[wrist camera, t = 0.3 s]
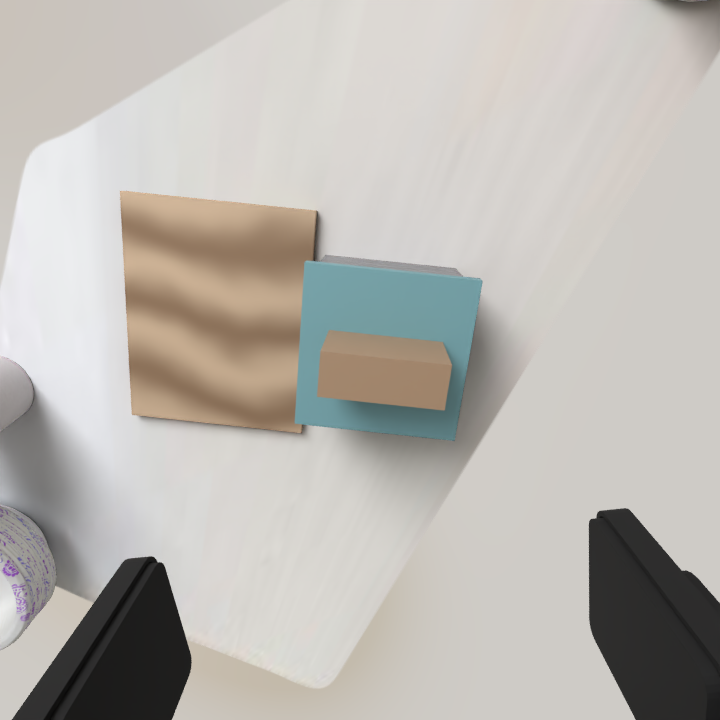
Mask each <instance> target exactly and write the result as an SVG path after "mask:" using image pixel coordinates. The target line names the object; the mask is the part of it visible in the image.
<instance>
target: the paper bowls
mask: <svg viewBox="0 0 720 720" xmlns="http://www.w3.org/2000/svg"><path fill="white" fill-rule="evenodd" d="M56 575H57V574H56V566H55V562H54V558H53V556H52V553H51V551H50V549H49V547H48V544H47V541H46V539H45V536H44V535H43V533H42V531H41V530H40V528H39V527H38V526H37V525H36V524H35V523H34V522H33V521H32V520H31V519H30V518H29V517H27V516H26V515H24V514H23V513H21V512H19V511H18V510H15V509H13V508H11V507H8V506H5V505H1V504H0V650H2V649H4V648H6V647H8V646H9V645H11V644H12V643H14V642H15V641H16V640H17V639H18V638H19V637H20V636H21V635H22V633H23V632H24V631H25V629H26V628H27V627H28V626H29V624H30V623H31V621H32V620H33V619H34V618H35V616H36V615H37V614H38V613H39V612H40V611H41V610H42V609H43V607H44V606H45V605H46V603H47V602H48V601H49V599H50V598H51V596H52V594H53V592H54V588H55V584H56Z"/></svg>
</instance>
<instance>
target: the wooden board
mask: <svg viewBox="0 0 720 720" xmlns="http://www.w3.org/2000/svg"><path fill="white" fill-rule="evenodd" d="M120 200H121V219H122V238H123V257H124V275H125V294H126V313H127V332H128V350H129V369H130V388H131V407H132V415H139V416H148V417H157V418H166V419H176V420H185V421H194V422H203V423H213V424H222V425H231V426H240V427H250V428H259V429H268V430H277V431H287V432H296V433H301V432H302V428H303V424H295V409H296V393H297V377H298V360H299V344H300V327H301V311H302V295H303V278H304V262H305V261H314V249H315V234H316V219H317V211H314V210H304V209H294V208H284V207H275V206H265V205H255V204H246V203H236V202H226V201H216V200H207V199H197V198H187V197H178V196H168V195H158V194H148V193H139V192H129V191H120Z"/></svg>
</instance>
